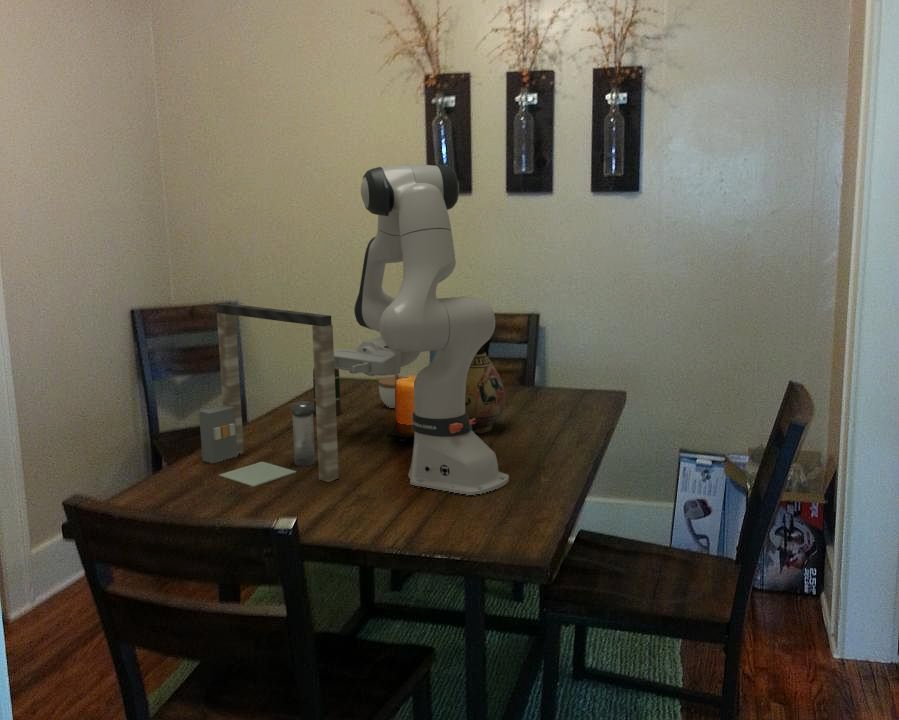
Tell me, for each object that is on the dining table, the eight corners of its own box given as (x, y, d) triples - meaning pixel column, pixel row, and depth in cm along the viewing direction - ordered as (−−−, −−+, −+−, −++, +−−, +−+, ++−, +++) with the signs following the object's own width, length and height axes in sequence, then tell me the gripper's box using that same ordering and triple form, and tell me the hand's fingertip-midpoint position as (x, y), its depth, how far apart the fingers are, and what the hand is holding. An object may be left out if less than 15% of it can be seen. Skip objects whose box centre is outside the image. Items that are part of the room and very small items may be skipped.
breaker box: (239, 457, 210) (236, 408, 208) (214, 464, 205) (211, 414, 202) (227, 453, 213) (224, 405, 211) (202, 460, 208) (199, 411, 205)
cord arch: (338, 479, 193) (332, 315, 186) (328, 483, 191) (321, 317, 184) (236, 450, 215) (226, 303, 208) (225, 453, 213) (216, 304, 206)
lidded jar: (393, 413, 249) (392, 380, 247) (371, 406, 257) (370, 374, 255) (423, 406, 255) (423, 374, 254) (401, 400, 264) (400, 369, 262)
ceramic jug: (482, 440, 220) (482, 321, 215) (434, 431, 230) (432, 316, 224) (520, 425, 234) (520, 313, 228) (472, 417, 243) (471, 308, 237)
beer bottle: (346, 411, 251) (342, 327, 247) (335, 418, 244) (331, 332, 239) (320, 409, 254) (317, 326, 249) (309, 416, 246) (305, 331, 242)
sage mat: (296, 472, 198) (296, 471, 198) (253, 486, 189) (253, 485, 189) (262, 462, 205) (262, 461, 205) (219, 475, 196) (218, 474, 196)
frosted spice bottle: (320, 462, 205) (318, 403, 203) (303, 467, 201) (301, 407, 199) (305, 458, 209) (303, 400, 206) (288, 463, 205) (285, 404, 202)
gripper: (341, 341, 227) (303, 350, 216) (405, 349, 216) (368, 359, 205) (342, 365, 228) (304, 375, 217) (405, 374, 217) (369, 385, 206)
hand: (336, 367), depth 211 cm, fingers open, 8 cm apart
